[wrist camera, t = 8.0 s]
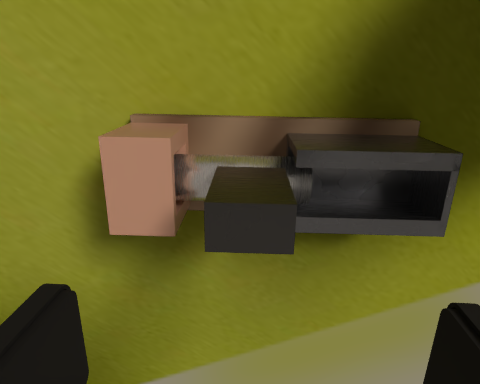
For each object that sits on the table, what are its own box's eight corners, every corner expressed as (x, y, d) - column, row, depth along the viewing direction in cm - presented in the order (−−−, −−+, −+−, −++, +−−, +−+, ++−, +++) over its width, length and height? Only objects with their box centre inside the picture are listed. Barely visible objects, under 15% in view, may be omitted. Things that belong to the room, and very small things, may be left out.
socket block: (187, 123, 24) (170, 138, 19) (190, 203, 26) (175, 236, 21) (130, 122, 25) (98, 136, 19) (137, 202, 26) (110, 234, 21)
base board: (413, 119, 25) (420, 121, 24) (397, 210, 27) (403, 215, 26) (134, 113, 25) (130, 115, 24) (142, 203, 28) (138, 208, 27)
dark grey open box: (417, 135, 24) (463, 153, 19) (405, 203, 26) (444, 236, 21) (287, 133, 24) (297, 149, 19) (283, 200, 26) (291, 232, 21)
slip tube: (306, 152, 23) (338, 199, 15) (303, 194, 24) (330, 261, 16) (139, 148, 24) (77, 192, 15) (143, 190, 25) (85, 253, 16)
